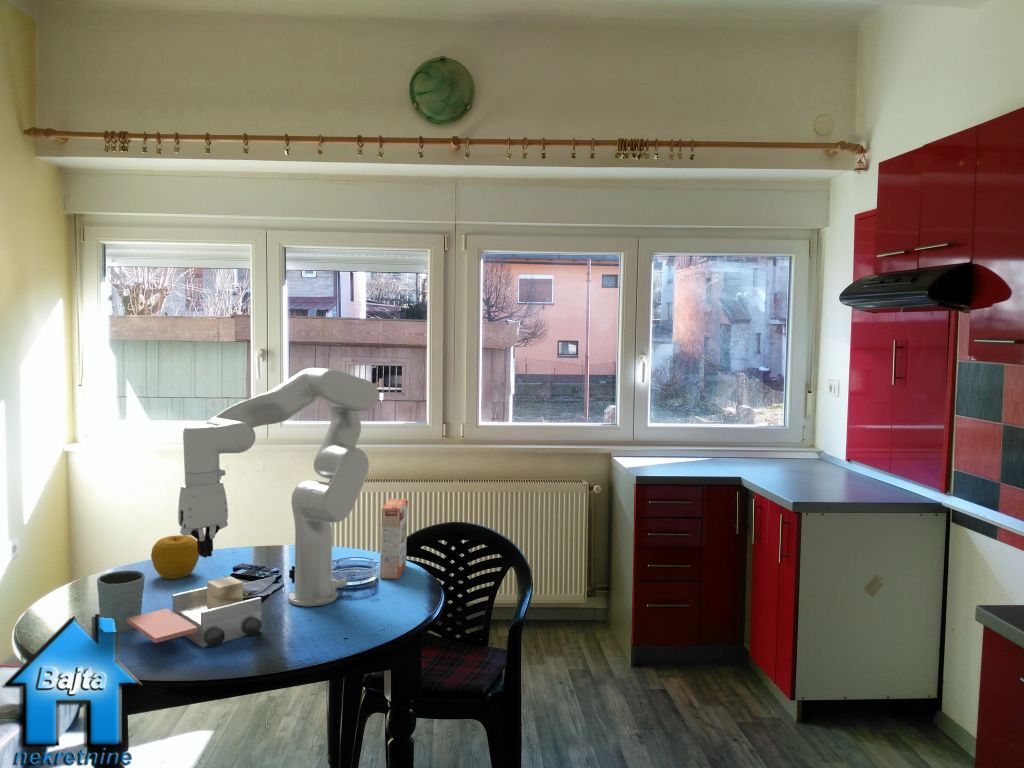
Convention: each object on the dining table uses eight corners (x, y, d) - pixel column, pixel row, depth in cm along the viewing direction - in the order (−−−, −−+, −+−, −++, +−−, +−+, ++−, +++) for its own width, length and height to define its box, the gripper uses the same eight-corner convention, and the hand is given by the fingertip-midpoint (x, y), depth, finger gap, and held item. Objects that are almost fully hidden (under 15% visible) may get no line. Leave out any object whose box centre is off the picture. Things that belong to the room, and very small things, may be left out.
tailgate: (167, 608, 178) (126, 618, 172) (197, 627, 167) (155, 638, 161) (167, 614, 178) (127, 624, 172) (197, 633, 167) (155, 644, 161)
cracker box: (400, 580, 219) (401, 508, 218) (379, 579, 219) (380, 507, 218) (407, 565, 233) (408, 498, 232) (387, 565, 233) (388, 497, 232)
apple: (142, 576, 216) (142, 537, 215) (184, 566, 227) (184, 528, 226) (167, 586, 209) (167, 545, 208) (209, 574, 219) (209, 535, 219)
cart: (226, 612, 190) (227, 580, 190) (263, 632, 178) (263, 599, 177) (170, 626, 180) (170, 593, 180) (205, 649, 168) (205, 614, 167)
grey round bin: (112, 617, 185) (112, 569, 184) (153, 619, 185) (153, 570, 184) (88, 633, 175) (87, 582, 174) (131, 635, 174) (130, 584, 174)
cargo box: (231, 600, 184) (231, 576, 184) (242, 607, 180) (242, 582, 180) (206, 606, 180) (206, 581, 180) (218, 613, 176) (218, 587, 176)
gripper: (226, 470, 182) (228, 545, 184) (162, 480, 172) (166, 559, 173) (241, 475, 177) (243, 552, 179) (176, 485, 166) (180, 567, 168)
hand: (205, 555), depth 176 cm, fingers closed
